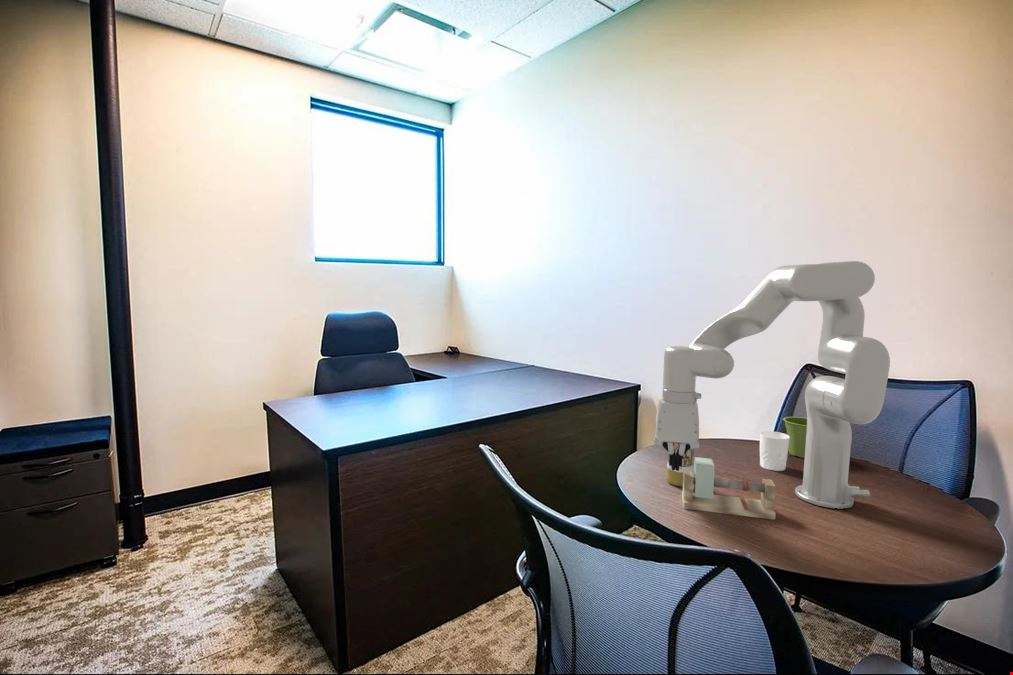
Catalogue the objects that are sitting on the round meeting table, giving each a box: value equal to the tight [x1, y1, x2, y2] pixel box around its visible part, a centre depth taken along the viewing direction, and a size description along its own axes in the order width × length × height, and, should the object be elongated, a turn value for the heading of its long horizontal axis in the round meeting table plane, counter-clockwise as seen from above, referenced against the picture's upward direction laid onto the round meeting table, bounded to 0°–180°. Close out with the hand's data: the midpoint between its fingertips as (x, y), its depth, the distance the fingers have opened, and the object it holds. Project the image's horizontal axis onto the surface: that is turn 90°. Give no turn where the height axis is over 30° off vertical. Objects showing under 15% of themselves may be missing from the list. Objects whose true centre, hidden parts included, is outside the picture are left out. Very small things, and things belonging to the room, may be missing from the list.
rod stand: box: [681, 471, 776, 520], centre depth 119 cm, size 20×7×8 cm, turn 74°
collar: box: [693, 456, 715, 499], centre depth 120 cm, size 4×6×8 cm
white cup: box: [759, 430, 790, 472], centre depth 146 cm, size 8×8×10 cm
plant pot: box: [782, 416, 807, 459], centre depth 157 cm, size 12×12×11 cm
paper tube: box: [666, 399, 698, 488], centre depth 133 cm, size 7×7×25 cm
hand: (675, 468), depth 122 cm, fingers closed
